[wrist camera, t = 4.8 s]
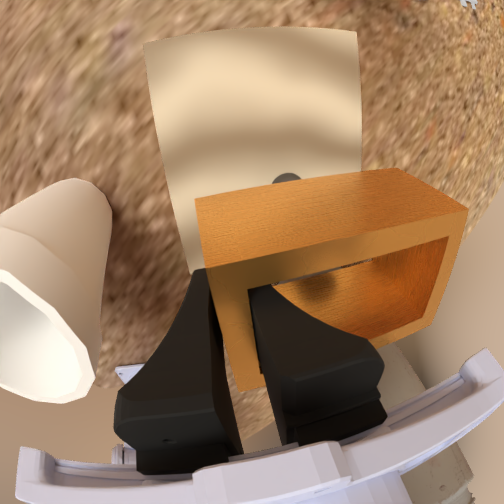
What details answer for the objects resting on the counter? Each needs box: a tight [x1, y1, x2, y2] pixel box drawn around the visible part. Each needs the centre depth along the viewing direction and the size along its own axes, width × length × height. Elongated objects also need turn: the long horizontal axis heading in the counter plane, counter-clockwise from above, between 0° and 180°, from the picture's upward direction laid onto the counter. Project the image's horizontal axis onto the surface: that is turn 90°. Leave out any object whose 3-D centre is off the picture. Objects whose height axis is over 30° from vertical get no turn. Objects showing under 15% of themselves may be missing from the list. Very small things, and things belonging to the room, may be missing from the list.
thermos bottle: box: [277, 266, 475, 504], centre depth 16 cm, size 8×8×28 cm
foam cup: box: [0, 178, 112, 404], centre depth 14 cm, size 10×9×13 cm
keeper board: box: [143, 27, 362, 274], centre depth 17 cm, size 17×14×8 cm
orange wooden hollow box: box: [194, 168, 469, 392], centre depth 12 cm, size 10×6×5 cm, turn 96°
